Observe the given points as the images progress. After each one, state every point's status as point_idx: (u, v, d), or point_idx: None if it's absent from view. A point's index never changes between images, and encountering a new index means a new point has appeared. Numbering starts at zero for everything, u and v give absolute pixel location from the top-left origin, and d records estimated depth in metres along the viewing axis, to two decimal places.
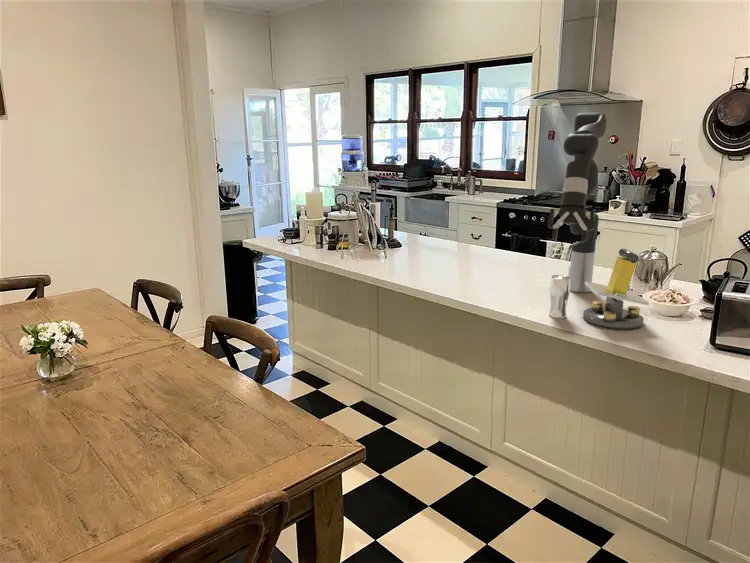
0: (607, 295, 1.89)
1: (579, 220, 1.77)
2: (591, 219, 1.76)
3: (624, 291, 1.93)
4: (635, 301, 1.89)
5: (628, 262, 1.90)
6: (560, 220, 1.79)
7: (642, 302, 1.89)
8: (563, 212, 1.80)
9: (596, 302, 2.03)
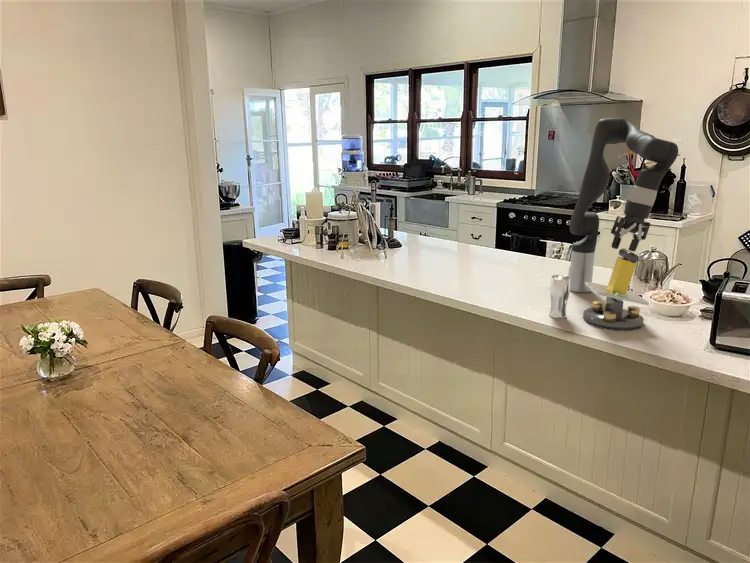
0: (607, 295, 1.89)
1: (640, 231, 1.80)
2: (646, 230, 1.82)
3: (624, 291, 1.93)
4: (635, 301, 1.89)
5: (628, 262, 1.90)
6: (627, 230, 1.77)
7: (642, 302, 1.89)
8: (630, 222, 1.77)
9: (596, 302, 2.03)
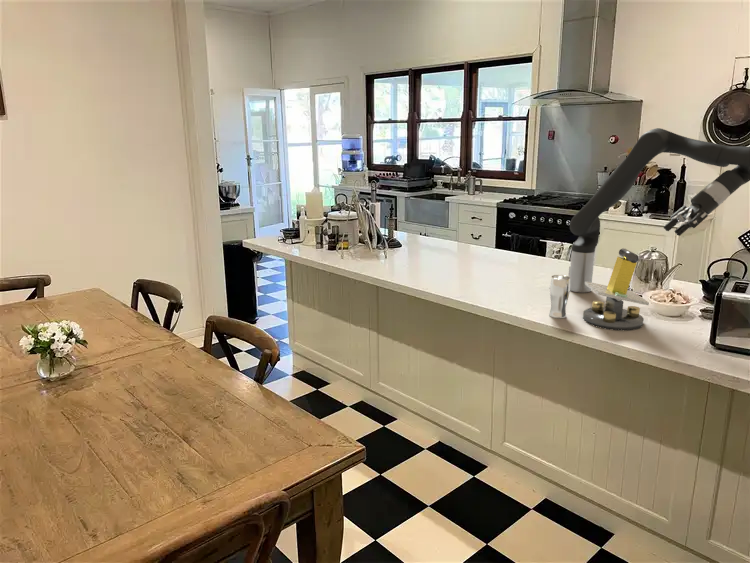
0: (607, 295, 1.89)
1: None
2: None
3: (624, 291, 1.93)
4: (635, 301, 1.89)
5: (628, 262, 1.90)
6: None
7: (642, 302, 1.89)
8: None
9: (596, 302, 2.03)
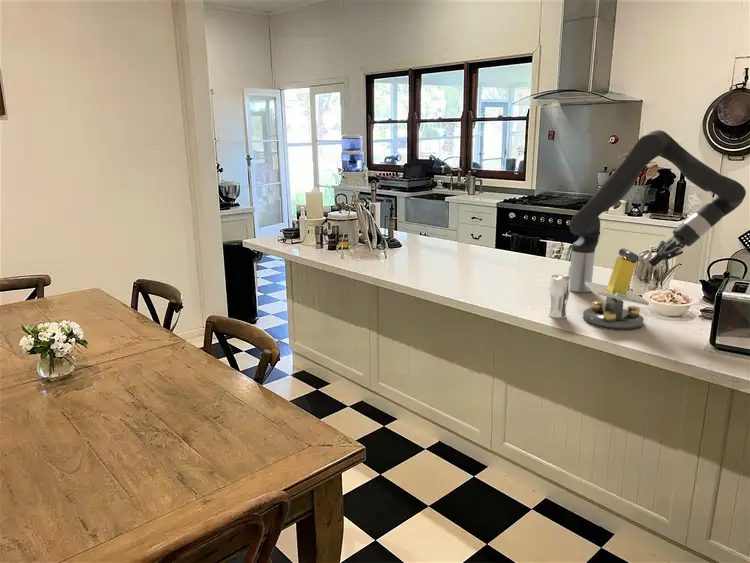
0: (607, 295, 1.89)
1: None
2: None
3: (624, 291, 1.93)
4: (635, 301, 1.89)
5: (628, 262, 1.90)
6: None
7: (642, 302, 1.89)
8: None
9: (596, 302, 2.03)
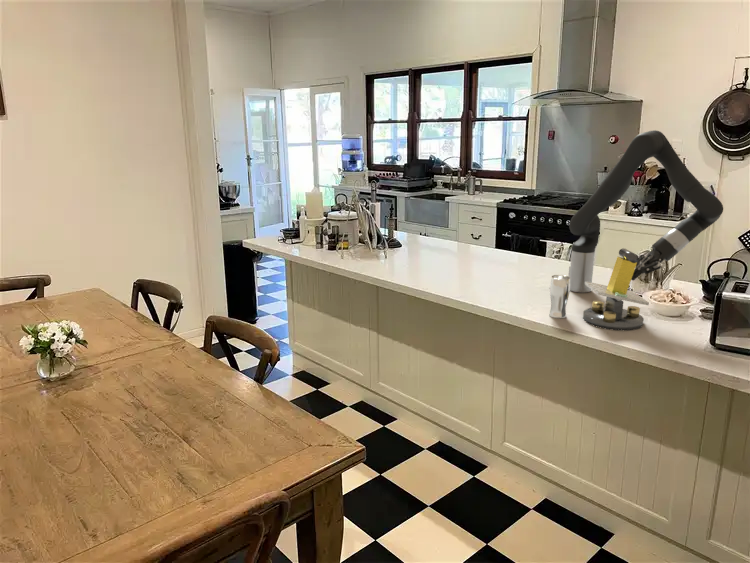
0: (607, 295, 1.89)
1: None
2: None
3: (624, 291, 1.93)
4: (635, 301, 1.89)
5: (628, 262, 1.90)
6: None
7: (642, 302, 1.89)
8: None
9: (596, 302, 2.03)
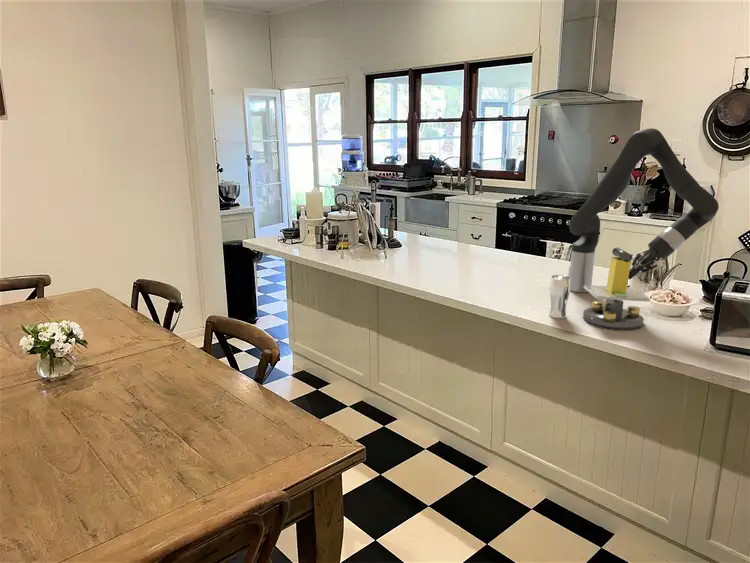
0: (606, 297, 1.89)
1: None
2: None
3: (623, 290, 1.93)
4: (635, 299, 1.89)
5: (622, 261, 1.90)
6: None
7: (643, 299, 1.89)
8: None
9: (596, 302, 2.03)
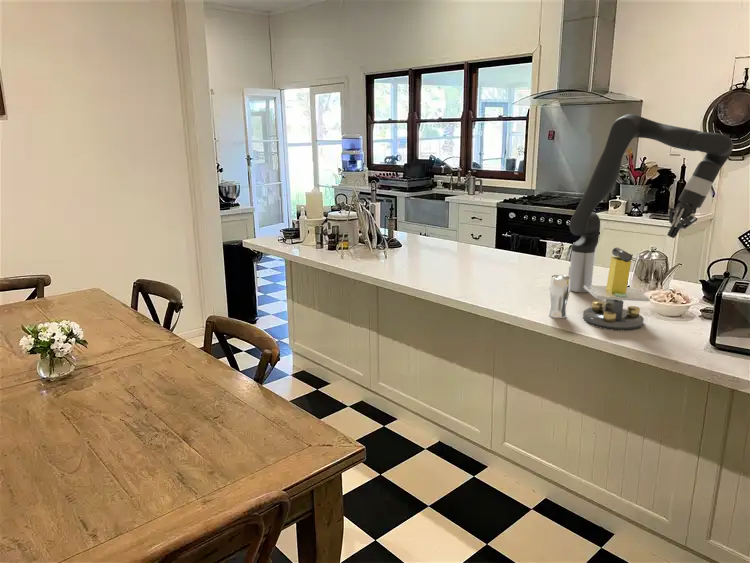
0: (606, 297, 1.89)
1: None
2: None
3: (623, 290, 1.93)
4: (635, 299, 1.89)
5: (622, 261, 1.90)
6: None
7: (643, 299, 1.89)
8: None
9: (596, 302, 2.03)
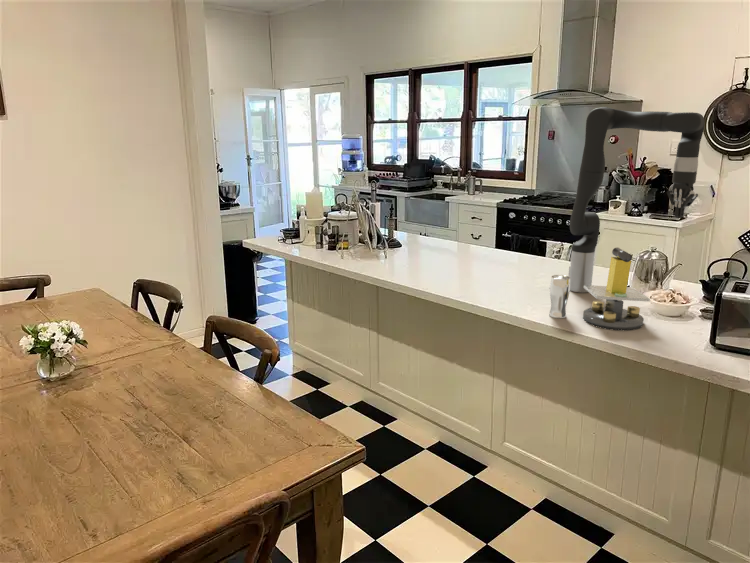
0: (606, 297, 1.89)
1: None
2: None
3: (623, 290, 1.93)
4: (635, 299, 1.89)
5: (622, 261, 1.90)
6: None
7: (643, 299, 1.89)
8: None
9: (596, 302, 2.03)
